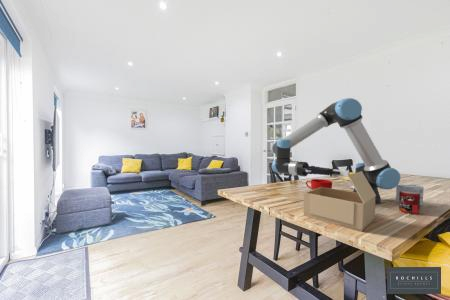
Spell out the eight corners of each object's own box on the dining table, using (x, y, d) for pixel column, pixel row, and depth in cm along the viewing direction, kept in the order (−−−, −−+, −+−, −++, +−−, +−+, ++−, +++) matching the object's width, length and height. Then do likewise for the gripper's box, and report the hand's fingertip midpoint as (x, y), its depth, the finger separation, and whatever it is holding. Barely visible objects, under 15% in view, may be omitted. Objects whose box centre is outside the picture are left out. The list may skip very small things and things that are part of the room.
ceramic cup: (310, 191, 151) (310, 177, 150) (335, 196, 138) (335, 181, 138) (301, 194, 142) (301, 179, 142) (327, 199, 129) (327, 183, 129)
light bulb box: (414, 202, 126) (414, 184, 126) (423, 205, 120) (424, 186, 119) (395, 201, 127) (395, 183, 127) (403, 204, 121) (404, 186, 120)
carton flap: (347, 175, 86) (348, 174, 85) (360, 171, 99) (361, 171, 99) (363, 203, 82) (364, 203, 81) (375, 195, 95) (376, 195, 94)
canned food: (394, 209, 110) (395, 189, 110) (408, 209, 111) (409, 189, 111) (408, 214, 103) (409, 192, 102) (423, 214, 103) (424, 192, 103)
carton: (302, 215, 99) (302, 192, 99) (320, 206, 114) (321, 186, 113) (361, 232, 81) (362, 204, 81) (374, 219, 96) (375, 195, 95)
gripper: (304, 174, 115) (352, 180, 98) (292, 176, 107) (343, 183, 89) (305, 161, 115) (353, 164, 98) (293, 162, 106) (343, 166, 89)
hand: (348, 173), depth 94 cm, fingers closed
